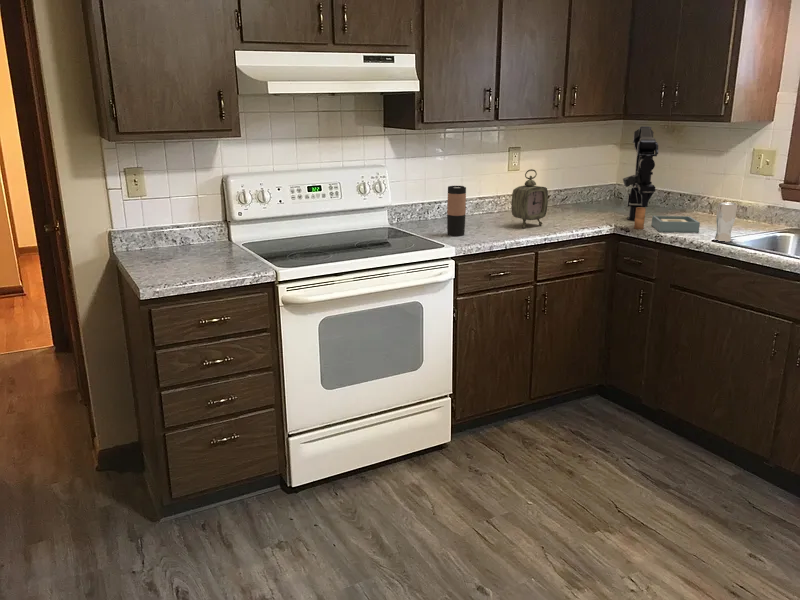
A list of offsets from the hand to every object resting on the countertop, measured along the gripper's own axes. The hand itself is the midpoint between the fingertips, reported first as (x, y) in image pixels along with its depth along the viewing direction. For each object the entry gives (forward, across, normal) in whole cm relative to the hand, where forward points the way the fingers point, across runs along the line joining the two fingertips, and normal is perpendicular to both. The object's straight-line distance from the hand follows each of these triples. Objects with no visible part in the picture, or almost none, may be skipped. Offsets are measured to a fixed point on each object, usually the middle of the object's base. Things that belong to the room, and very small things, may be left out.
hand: (641, 205), depth 296 cm
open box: (+10, 0, +15) cm, 18 cm away
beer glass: (+10, +23, +28) cm, 37 cm away
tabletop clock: (+10, 0, -48) cm, 49 cm away
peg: (+10, 0, 0) cm, 10 cm away
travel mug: (+10, +22, -79) cm, 83 cm away
